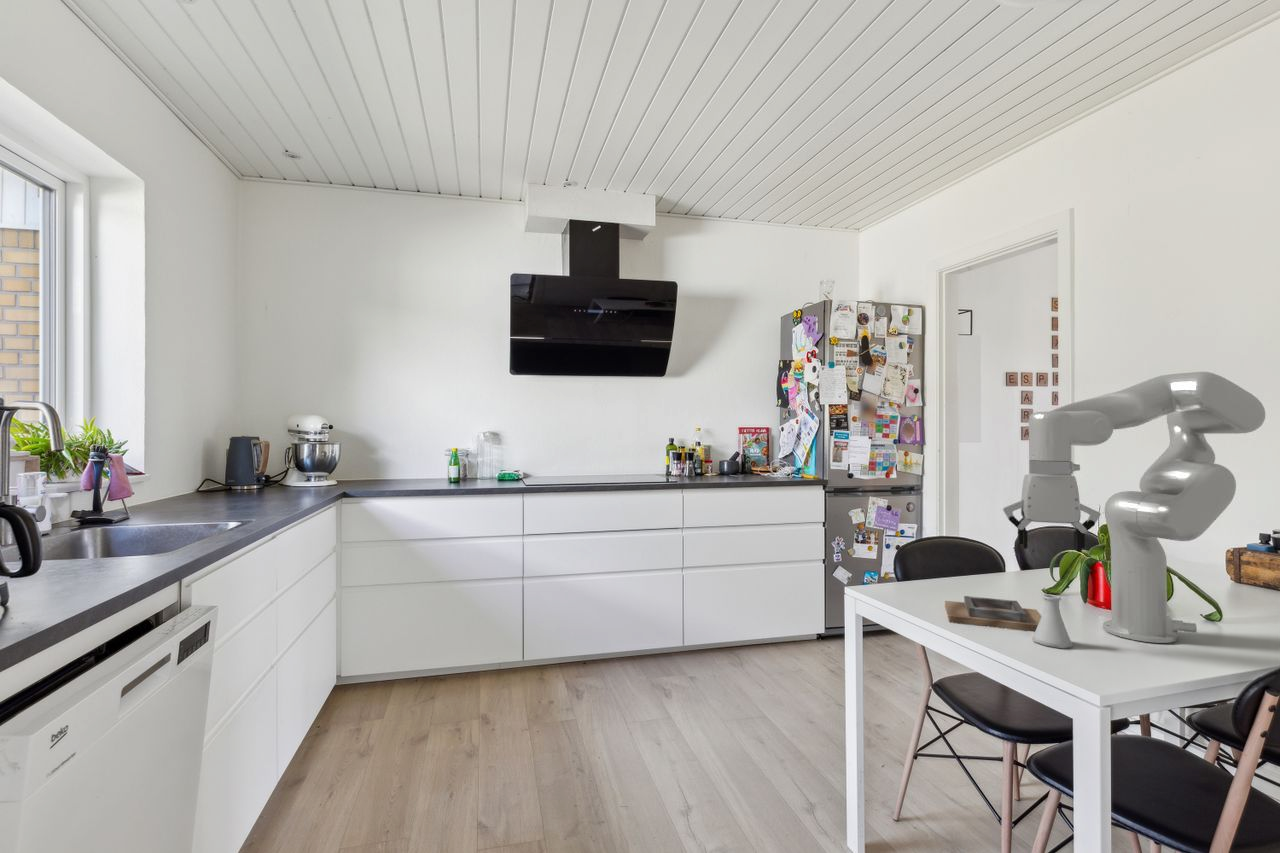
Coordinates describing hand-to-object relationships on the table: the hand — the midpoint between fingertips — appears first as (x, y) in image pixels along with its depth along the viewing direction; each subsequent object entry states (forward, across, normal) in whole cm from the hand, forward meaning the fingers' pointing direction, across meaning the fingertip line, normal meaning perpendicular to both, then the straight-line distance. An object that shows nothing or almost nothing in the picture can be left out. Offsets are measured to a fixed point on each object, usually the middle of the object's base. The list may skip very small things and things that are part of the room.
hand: (1050, 549), depth 127 cm
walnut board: (+20, +9, -14) cm, 26 cm away
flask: (+20, 0, 0) cm, 20 cm away
